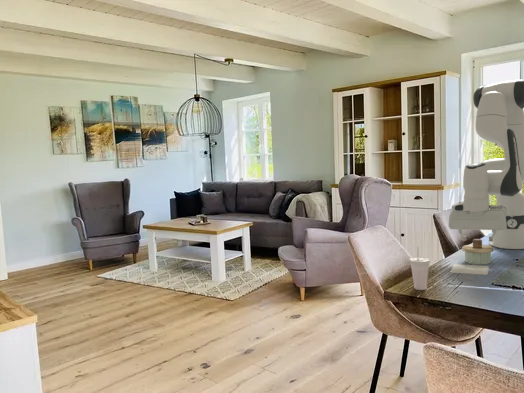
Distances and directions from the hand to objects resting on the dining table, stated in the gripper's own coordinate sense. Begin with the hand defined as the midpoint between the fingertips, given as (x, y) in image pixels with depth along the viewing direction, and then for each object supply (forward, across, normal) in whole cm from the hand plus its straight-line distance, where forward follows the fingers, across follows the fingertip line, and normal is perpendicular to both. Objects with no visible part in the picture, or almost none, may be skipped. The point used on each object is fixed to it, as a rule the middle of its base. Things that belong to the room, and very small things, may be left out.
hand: (477, 240), depth 173 cm
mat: (+9, +2, +13) cm, 16 cm away
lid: (+4, 0, 0) cm, 4 cm away
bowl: (+9, 0, 0) cm, 9 cm away
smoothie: (+9, +15, +39) cm, 43 cm away
